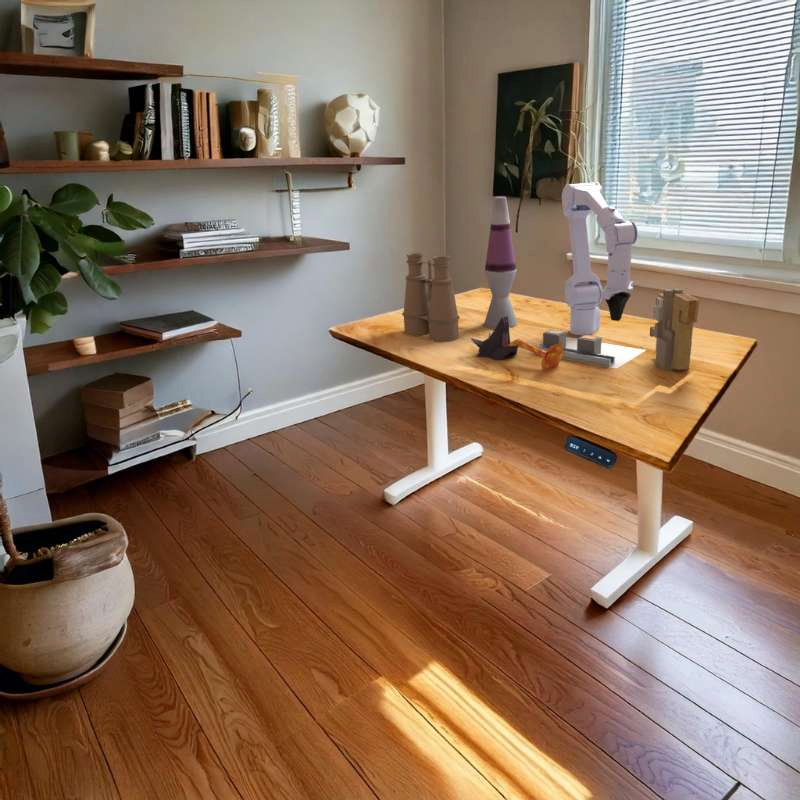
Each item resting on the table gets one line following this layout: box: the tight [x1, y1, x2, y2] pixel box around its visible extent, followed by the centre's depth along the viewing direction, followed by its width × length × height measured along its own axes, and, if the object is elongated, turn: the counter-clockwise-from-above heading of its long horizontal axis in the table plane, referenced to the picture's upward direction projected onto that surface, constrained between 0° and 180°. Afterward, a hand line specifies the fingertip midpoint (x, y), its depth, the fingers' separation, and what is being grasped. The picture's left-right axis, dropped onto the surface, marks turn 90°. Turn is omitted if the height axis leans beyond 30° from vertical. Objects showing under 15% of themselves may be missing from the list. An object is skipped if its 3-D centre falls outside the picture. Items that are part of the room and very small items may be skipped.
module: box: [577, 335, 603, 354], centre depth 185 cm, size 4×5×5 cm
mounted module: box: [542, 329, 567, 348], centre depth 191 cm, size 4×5×5 cm
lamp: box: [483, 196, 518, 329], centre depth 216 cm, size 11×11×40 cm
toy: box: [649, 288, 700, 371], centre depth 172 cm, size 6×17×20 cm, turn 2°
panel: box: [530, 336, 647, 370], centre depth 190 cm, size 18×26×1 cm
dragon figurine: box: [470, 316, 564, 371], centre depth 185 cm, size 10×12×25 cm
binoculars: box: [401, 252, 460, 343], centre depth 212 cm, size 21×10×25 cm, turn 46°
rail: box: [535, 343, 615, 368], centre depth 184 cm, size 3×22×2 cm, turn 48°
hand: (615, 320), depth 185 cm, fingers closed
